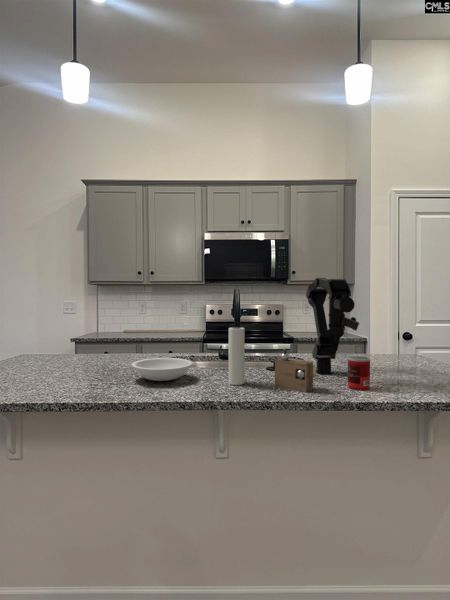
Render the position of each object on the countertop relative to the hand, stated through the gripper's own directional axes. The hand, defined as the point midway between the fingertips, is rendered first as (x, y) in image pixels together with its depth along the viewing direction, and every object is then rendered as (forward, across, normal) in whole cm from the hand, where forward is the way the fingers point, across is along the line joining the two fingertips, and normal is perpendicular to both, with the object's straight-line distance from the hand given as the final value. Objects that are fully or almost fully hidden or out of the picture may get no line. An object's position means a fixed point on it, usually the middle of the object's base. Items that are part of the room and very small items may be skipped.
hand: (336, 350), depth 153 cm
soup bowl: (+12, -21, +65) cm, 70 cm away
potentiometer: (+2, -18, +17) cm, 25 cm away
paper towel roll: (+12, -17, +35) cm, 41 cm away
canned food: (+12, -9, -8) cm, 17 cm away
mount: (+12, -18, +14) cm, 25 cm away
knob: (+9, -18, +10) cm, 22 cm away
